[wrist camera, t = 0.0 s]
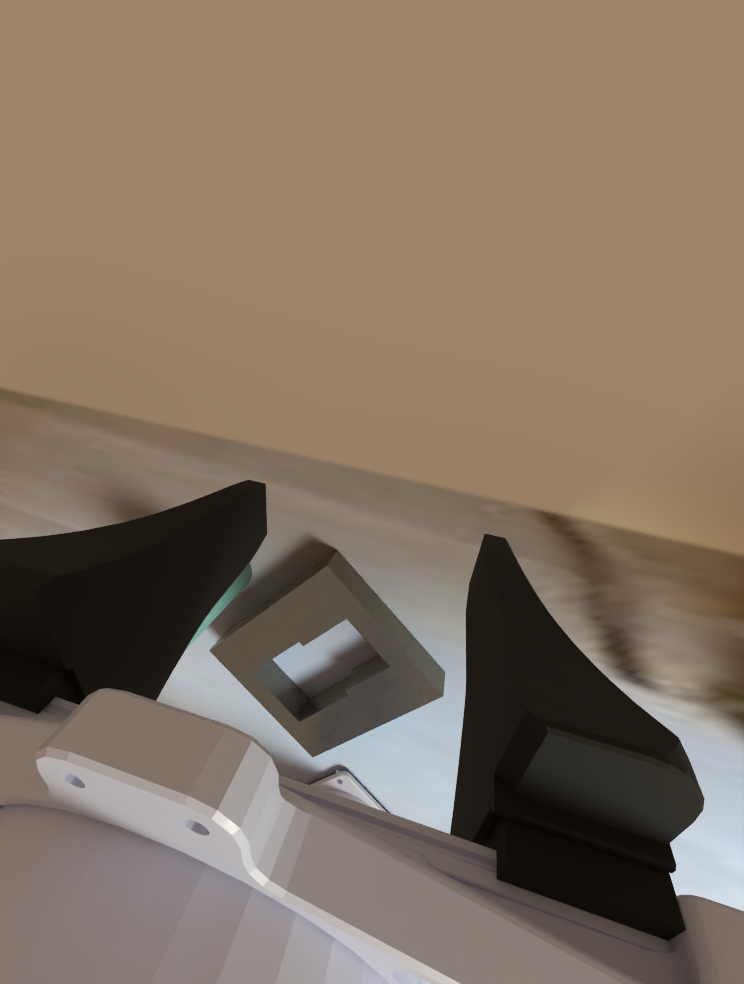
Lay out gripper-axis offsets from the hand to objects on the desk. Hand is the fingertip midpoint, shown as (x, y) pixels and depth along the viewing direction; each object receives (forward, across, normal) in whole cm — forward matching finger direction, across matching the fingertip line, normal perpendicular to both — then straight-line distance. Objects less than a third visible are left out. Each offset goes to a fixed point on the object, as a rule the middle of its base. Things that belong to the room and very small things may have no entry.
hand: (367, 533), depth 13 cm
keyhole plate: (+8, +3, +17) cm, 19 cm away
